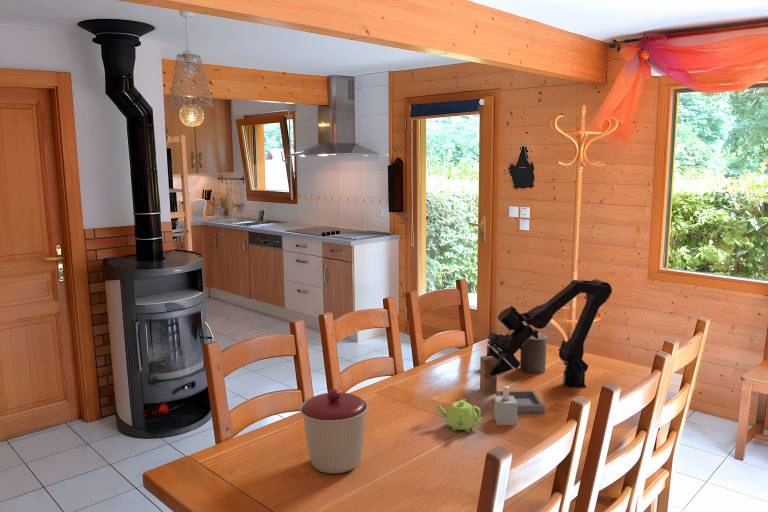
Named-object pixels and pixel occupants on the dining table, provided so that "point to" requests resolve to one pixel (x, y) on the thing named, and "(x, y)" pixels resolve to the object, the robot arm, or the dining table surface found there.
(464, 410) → the teapot
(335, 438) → the canister
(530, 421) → the dining table surface
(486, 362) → the walnut block
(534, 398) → the tray
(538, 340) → the pillar candle
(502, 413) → the grey soap dispenser
